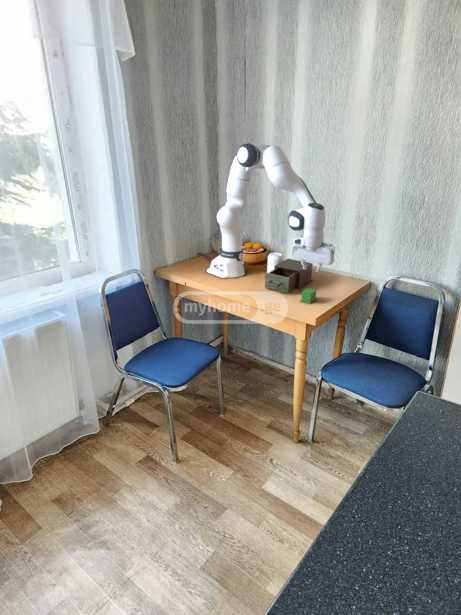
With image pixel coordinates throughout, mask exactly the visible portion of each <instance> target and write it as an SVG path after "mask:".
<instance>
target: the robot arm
mask: <svg viewBox="0 0 461 615" xmlns="http://www.w3.org/2000/svg"><path fill="white" fill-rule="evenodd" d="M255 169H265V172H266V174H267V176H268V179H269V181H270V183H271V184H272V185H273V187H275V188H277V189H280V190H284V191H286V192H290V193H292V194H294V195H295V196H296V197H297V199H298V200H299V202H300V204H301V205H302V207H300V208H295V209H292V210H290V211H289V213H288V215H287V225H288V226H289V228H290V229H291V230H292V231H295V232H296V231H297V232H298V231H302V232H303V235H300V236H297V237H295V238H294V239H293V240H292V243H293V244H292V245H291V248H290V257H291V259H293V260H299V261H301V263H302V265H303V269H305V270H306V269H307V265H306V264H305V262H309V263H316V264H317V266H316V267H314V272H316V273H319V272H320V268H321V267H322V266H323V265H326V266H331V265H332V264H333V263H334V262H335V252H336V247H335V246H334V245H333V243H327V242H324V238H325V237H324V236H325V233H324V229H325V225H326V209H325V206H324V205H323V204H320V203H317V201H316V200H315V197H314V196H313V194H312V193H311V191H310V190H309V188H308V187H307V184H306V183H305V181H304V180H303V179H302V178H301V177H300V176H299V175H298V174H297V173H296V172H295V170H294V169H293V168H292V165H291V163H290V162H289V159H288V156H287V155H286V154H285V152H284V151H283V149H282V148H281V146H279V145H276V144H275V145H274V144H273V145H270V144H263V143H249V142H248V143H243V144H241V145H240V146H239V147H238V148H237V151H236V155H235V156H234V159H233V161H232V164H231V166H230V170H229V174H228V179H227V183H226V184H227V185H226V188H225V190H226V191H225V192H226V202H225V205H223V206H222V207H221V208H220V209H218V212H217V214H216V221H217V223H218V225H219V228H220V233H221V249H219V250H218V253H219V255H218V256H216V257H215V258H213V259H211V258H210V257H209V256H208V255H206V254H205V253H203V252H198V253H197V254H196V255H197V256H198V255H202V256H204V257H206V258H207V259H208V261H210V266H209V267H208V268H207V269H206V273H208V274H211V275H213V276H216V277H218V278H221V279H227V278H228V279H231V278H239V277H243V276H244V275H246V271H245V267H244V259H243V258H244V248H243V234H242V231H241V225H240V223H241V221H242V220H243V219H244V218H245V216H246V213H247V200H248V192H249V187H250V184H251V178H252V174H253V171H254V170H255Z"/></svg>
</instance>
